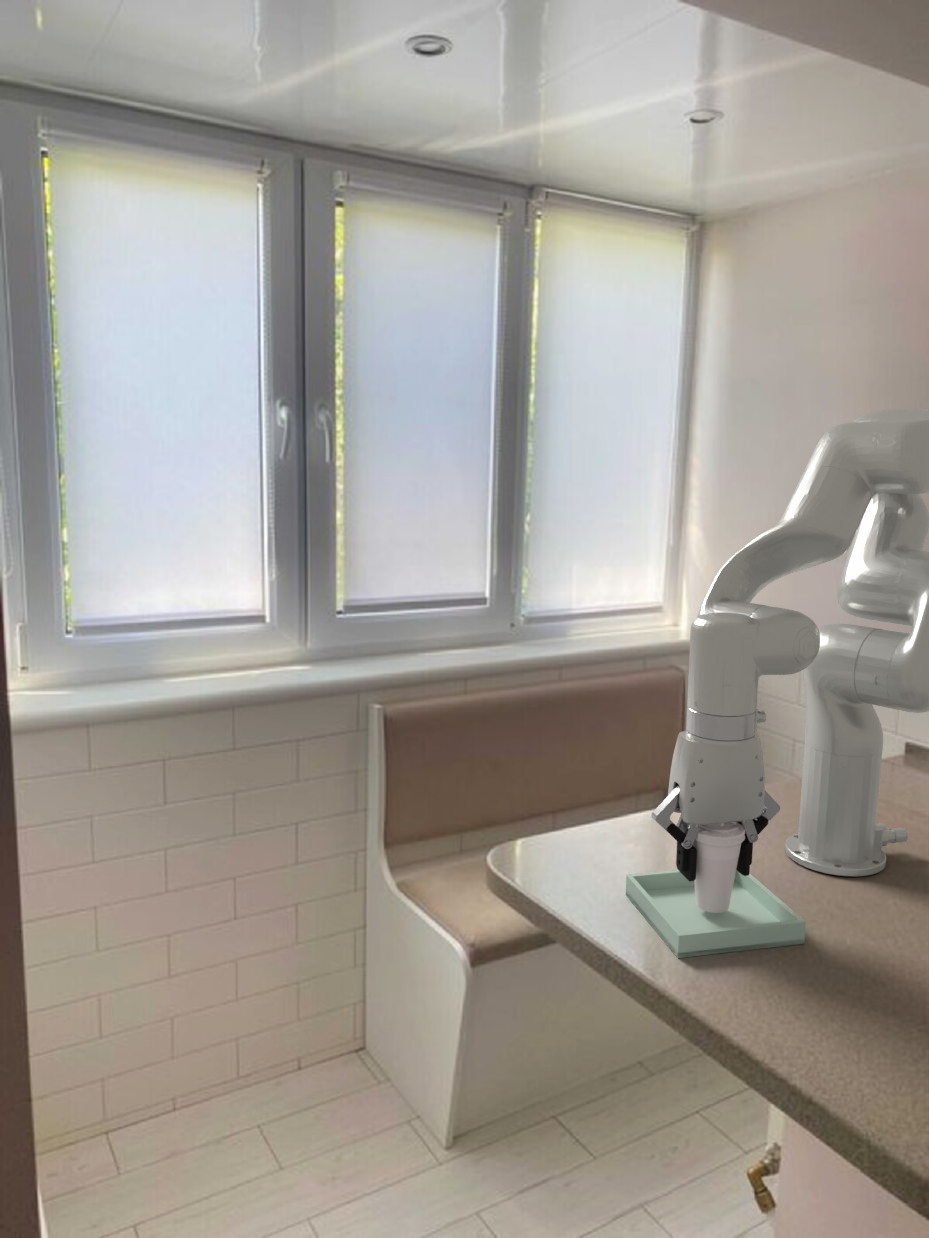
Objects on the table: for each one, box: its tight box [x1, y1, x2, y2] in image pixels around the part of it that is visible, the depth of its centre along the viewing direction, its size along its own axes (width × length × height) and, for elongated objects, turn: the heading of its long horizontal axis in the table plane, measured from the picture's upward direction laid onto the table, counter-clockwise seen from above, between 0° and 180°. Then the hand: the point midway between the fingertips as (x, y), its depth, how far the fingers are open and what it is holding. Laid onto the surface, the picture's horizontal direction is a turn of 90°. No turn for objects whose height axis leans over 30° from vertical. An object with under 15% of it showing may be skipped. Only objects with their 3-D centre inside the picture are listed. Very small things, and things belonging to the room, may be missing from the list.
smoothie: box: [693, 822, 745, 913], centre depth 107 cm, size 6×6×14 cm
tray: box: [625, 869, 807, 959], centre depth 109 cm, size 15×15×3 cm
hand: (713, 872), depth 108 cm, fingers closed on smoothie, 6 cm apart
